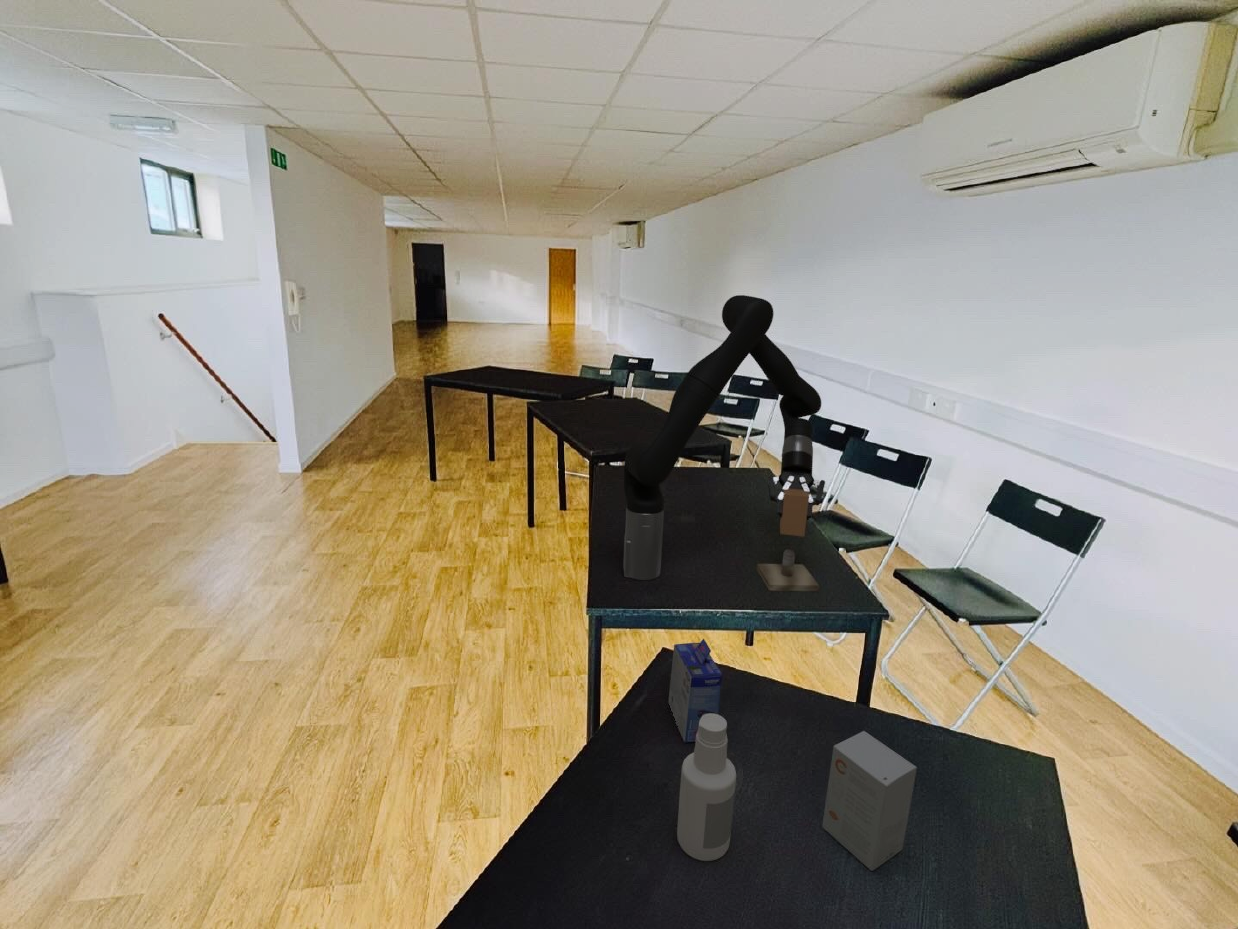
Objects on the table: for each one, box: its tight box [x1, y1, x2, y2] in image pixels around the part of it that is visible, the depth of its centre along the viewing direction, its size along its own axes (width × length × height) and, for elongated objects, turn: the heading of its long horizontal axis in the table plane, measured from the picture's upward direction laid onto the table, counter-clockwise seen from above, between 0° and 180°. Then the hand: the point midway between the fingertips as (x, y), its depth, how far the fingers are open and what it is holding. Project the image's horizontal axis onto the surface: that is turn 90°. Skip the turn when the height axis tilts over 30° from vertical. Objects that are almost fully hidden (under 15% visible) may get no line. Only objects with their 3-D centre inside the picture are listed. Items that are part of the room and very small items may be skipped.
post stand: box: [756, 548, 820, 592], centre depth 157 cm, size 12×12×8 cm
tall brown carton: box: [779, 489, 809, 537], centre depth 153 cm, size 6×6×10 cm
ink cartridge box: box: [667, 638, 723, 743], centre depth 103 cm, size 10×6×14 cm, turn 12°
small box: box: [821, 730, 918, 872], centre depth 82 cm, size 8×6×13 cm
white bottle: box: [676, 713, 737, 862], centre depth 80 cm, size 7×7×18 cm
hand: (794, 517), depth 152 cm, fingers closed on tall brown carton, 5 cm apart
